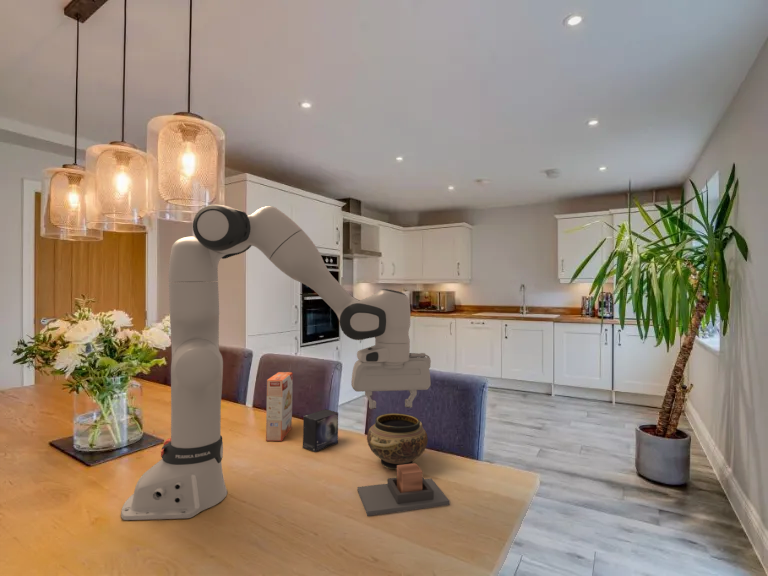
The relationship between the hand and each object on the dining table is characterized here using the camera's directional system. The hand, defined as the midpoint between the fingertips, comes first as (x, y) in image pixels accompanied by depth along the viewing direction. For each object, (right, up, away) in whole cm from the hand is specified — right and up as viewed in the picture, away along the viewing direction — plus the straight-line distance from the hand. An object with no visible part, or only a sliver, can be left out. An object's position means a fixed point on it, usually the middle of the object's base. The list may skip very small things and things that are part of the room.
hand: (390, 407), depth 104 cm
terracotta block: (+5, -20, -3) cm, 21 cm away
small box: (-22, -22, +31) cm, 44 cm away
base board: (+3, -21, -3) cm, 22 cm away
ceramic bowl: (+2, -22, +17) cm, 27 cm away
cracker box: (-39, -22, +41) cm, 60 cm away
